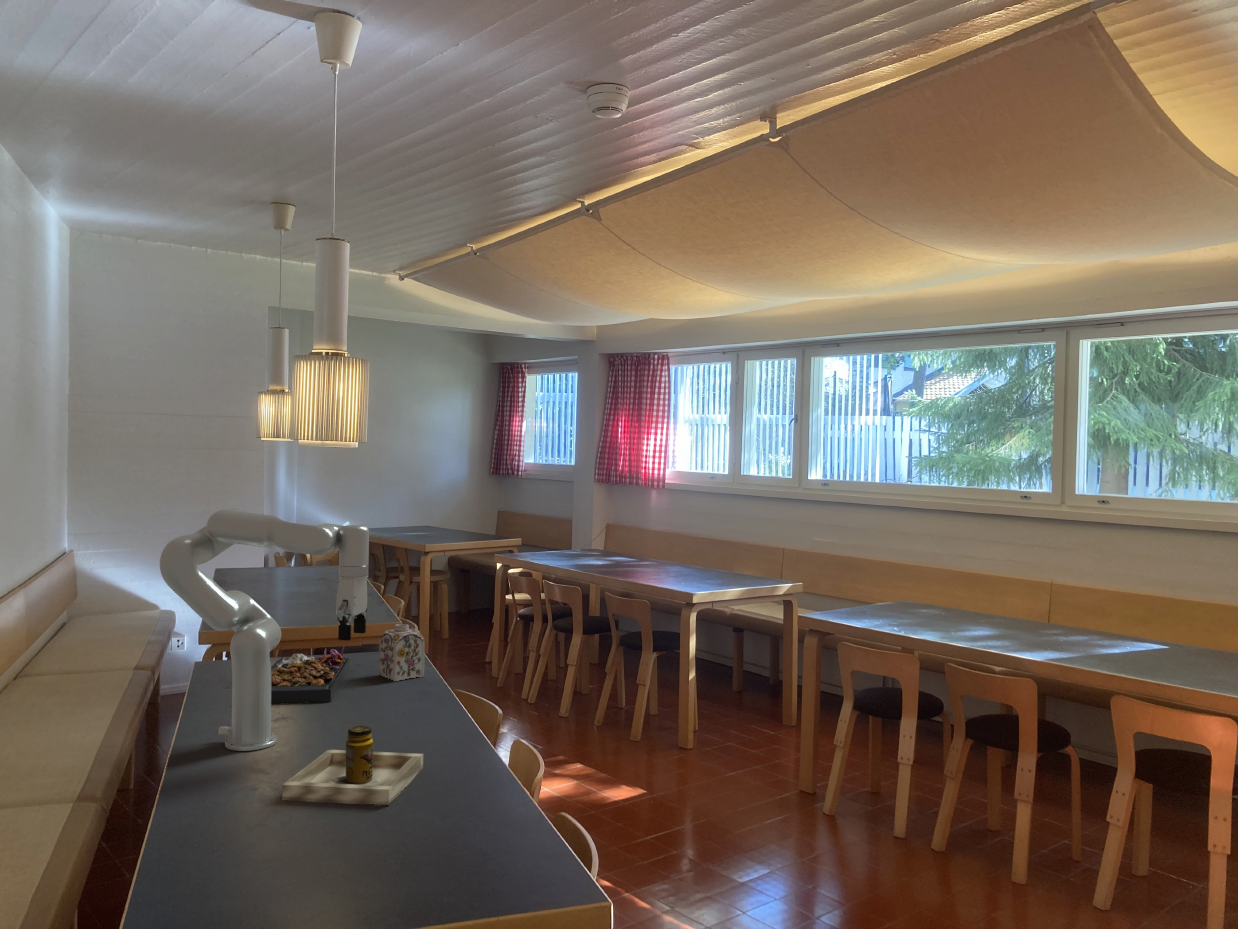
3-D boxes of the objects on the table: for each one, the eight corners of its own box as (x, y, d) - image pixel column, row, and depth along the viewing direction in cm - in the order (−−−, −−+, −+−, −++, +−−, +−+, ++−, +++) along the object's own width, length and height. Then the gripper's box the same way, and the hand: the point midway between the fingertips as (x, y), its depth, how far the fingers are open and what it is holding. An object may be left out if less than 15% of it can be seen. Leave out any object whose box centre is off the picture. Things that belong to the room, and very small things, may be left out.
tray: (282, 800, 194) (282, 784, 194) (327, 763, 218) (328, 749, 218) (388, 805, 192) (388, 789, 192) (423, 768, 216) (423, 754, 216)
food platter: (277, 672, 314) (278, 643, 314) (349, 670, 318) (349, 641, 318) (246, 706, 270) (247, 672, 270) (330, 704, 274) (331, 670, 274)
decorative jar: (377, 676, 308) (378, 624, 308) (407, 671, 316) (408, 620, 316) (394, 682, 300) (395, 629, 300) (425, 677, 308) (425, 625, 308)
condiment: (378, 782, 204) (378, 730, 204) (341, 789, 199) (341, 736, 199) (368, 773, 210) (369, 722, 210) (332, 779, 205) (332, 727, 205)
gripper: (353, 567, 244) (351, 630, 244) (325, 575, 227) (324, 642, 227) (379, 568, 243) (378, 631, 243) (354, 576, 226) (352, 643, 226)
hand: (352, 636), depth 235 cm, fingers open, 9 cm apart
